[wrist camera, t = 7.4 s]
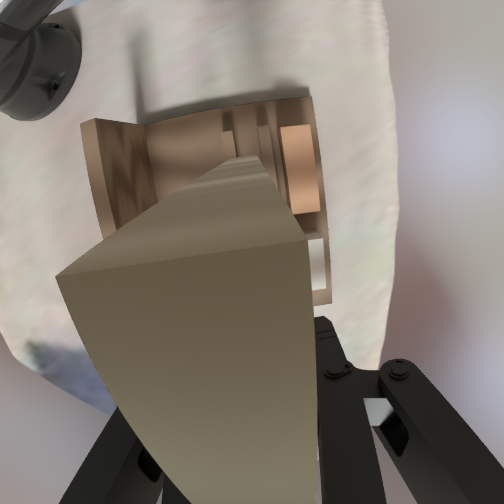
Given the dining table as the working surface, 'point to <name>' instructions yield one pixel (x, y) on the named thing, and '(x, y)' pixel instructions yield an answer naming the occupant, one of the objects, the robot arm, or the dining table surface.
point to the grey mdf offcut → (316, 259)
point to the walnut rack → (193, 160)
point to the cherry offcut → (299, 168)
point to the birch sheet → (209, 336)
